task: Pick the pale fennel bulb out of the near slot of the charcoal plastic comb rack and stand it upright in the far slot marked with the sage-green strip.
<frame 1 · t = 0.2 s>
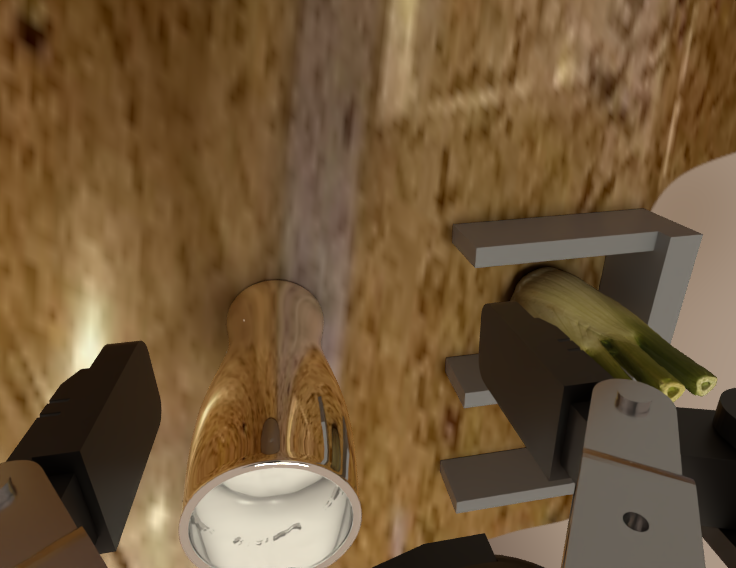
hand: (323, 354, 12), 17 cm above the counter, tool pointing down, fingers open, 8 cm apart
comb rack: (530, 354, 35), on the counter
fennel bulb: (537, 292, 33), resting in comb rack
beer glass: (275, 320, 31), on the counter
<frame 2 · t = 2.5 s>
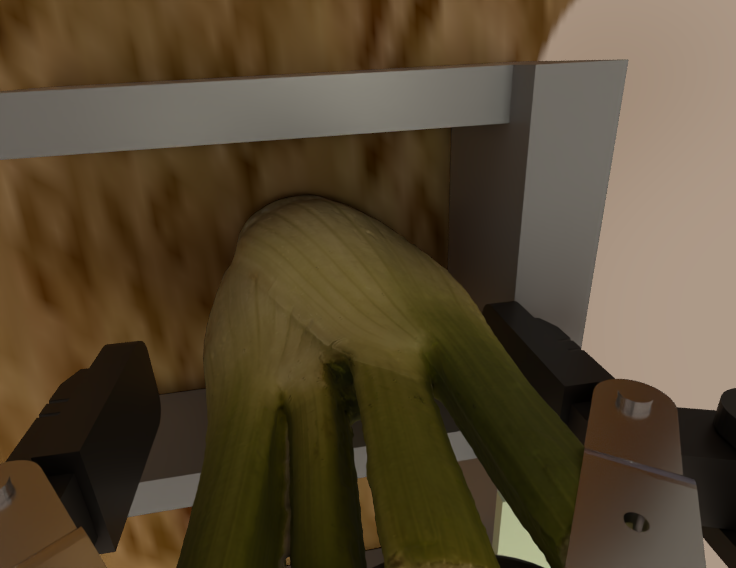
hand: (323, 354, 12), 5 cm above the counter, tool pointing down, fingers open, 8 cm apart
comb rack: (328, 385, 18), on the counter
fennel bulb: (315, 257, 16), resting in comb rack
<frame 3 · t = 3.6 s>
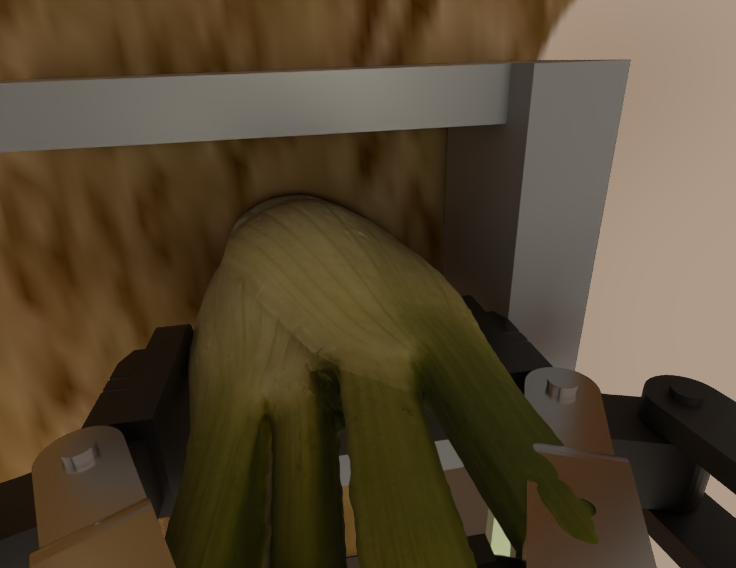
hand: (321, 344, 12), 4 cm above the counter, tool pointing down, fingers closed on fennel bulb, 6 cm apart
comb rack: (319, 388, 17), on the counter
fennel bulb: (308, 258, 16), resting in comb rack, touching gripper
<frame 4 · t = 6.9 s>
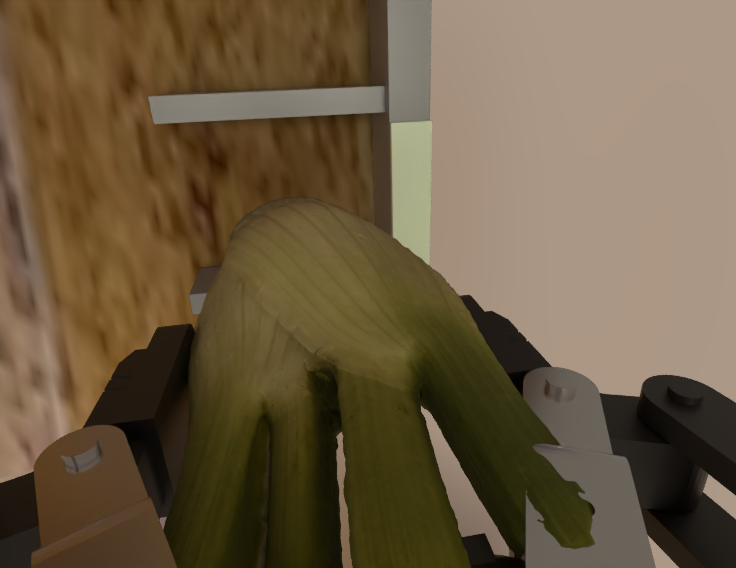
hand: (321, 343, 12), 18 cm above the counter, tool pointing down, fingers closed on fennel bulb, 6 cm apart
comb rack: (291, 99, 27), on the counter
fennel bulb: (309, 260, 16), point 14 cm above the counter, touching gripper
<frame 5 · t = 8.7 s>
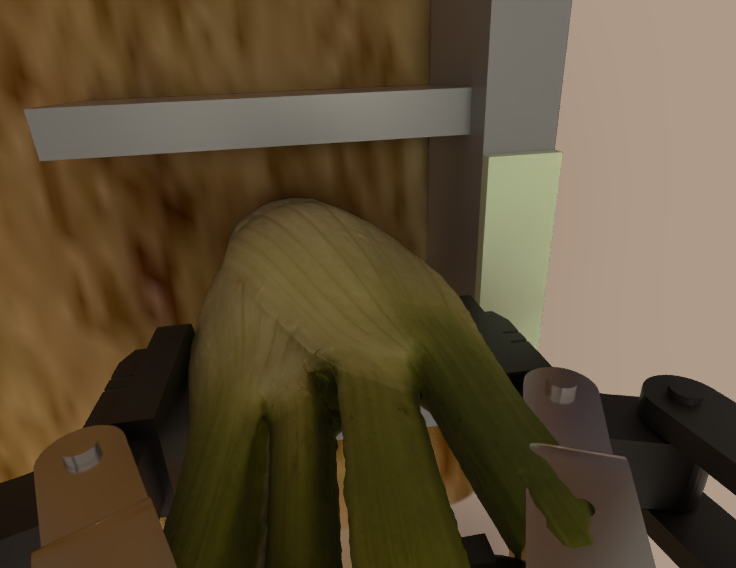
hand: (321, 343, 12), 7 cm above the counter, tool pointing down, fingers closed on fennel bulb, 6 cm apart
comb rack: (298, 110, 16), on the counter
fennel bulb: (309, 261, 16), point 2 cm above the counter, touching gripper
when the fingers open (4 cm above the counter, at t = 10.2 s): fennel bulb stays where it is, resting in comb rack.
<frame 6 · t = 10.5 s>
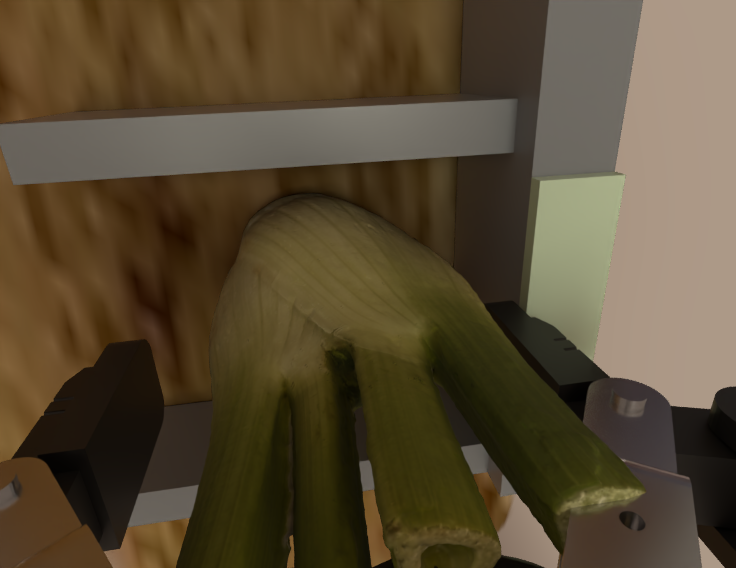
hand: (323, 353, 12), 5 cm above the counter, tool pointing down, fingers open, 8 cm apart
comb rack: (313, 122, 14), on the counter
fennel bulb: (318, 255, 16), resting in comb rack
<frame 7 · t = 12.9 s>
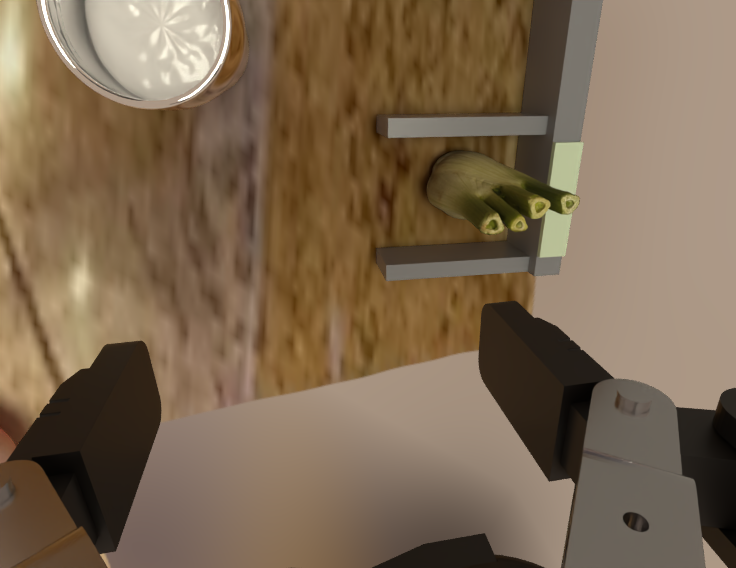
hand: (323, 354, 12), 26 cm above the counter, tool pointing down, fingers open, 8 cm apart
comb rack: (463, 122, 35), on the counter
fennel bulb: (456, 180, 37), resting in comb rack
beer glass: (201, 44, 31), on the counter
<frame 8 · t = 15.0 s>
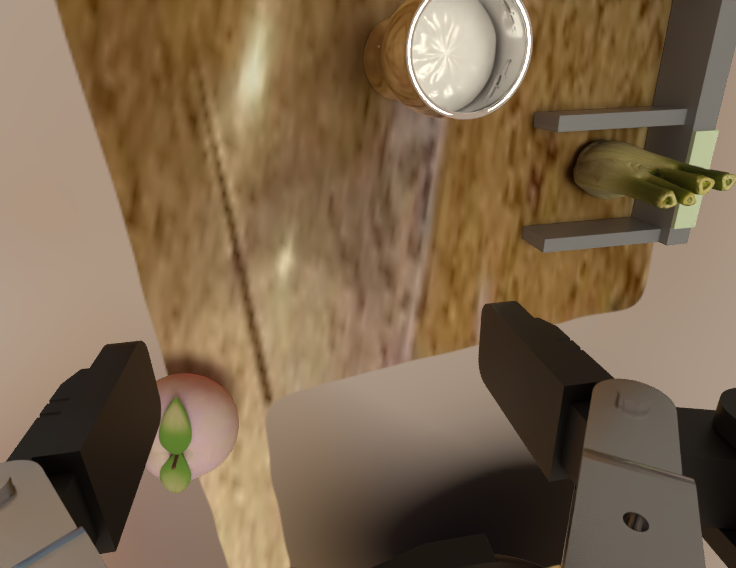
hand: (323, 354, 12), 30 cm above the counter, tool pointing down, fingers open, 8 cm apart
comb rack: (604, 115, 42), on the counter
fennel bulb: (593, 165, 44), resting in comb rack
decorative fruit: (198, 389, 46), on the counter
beer glass: (400, 59, 37), on the counter
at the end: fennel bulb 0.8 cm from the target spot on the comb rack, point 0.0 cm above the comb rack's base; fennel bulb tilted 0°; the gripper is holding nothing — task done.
